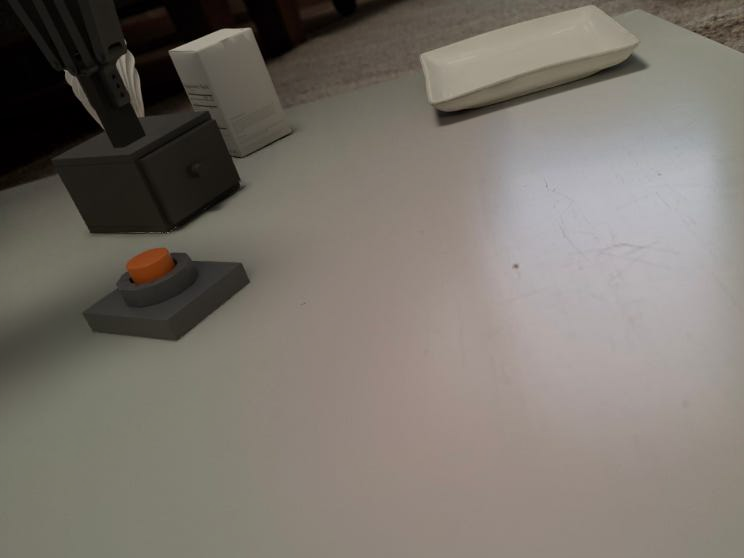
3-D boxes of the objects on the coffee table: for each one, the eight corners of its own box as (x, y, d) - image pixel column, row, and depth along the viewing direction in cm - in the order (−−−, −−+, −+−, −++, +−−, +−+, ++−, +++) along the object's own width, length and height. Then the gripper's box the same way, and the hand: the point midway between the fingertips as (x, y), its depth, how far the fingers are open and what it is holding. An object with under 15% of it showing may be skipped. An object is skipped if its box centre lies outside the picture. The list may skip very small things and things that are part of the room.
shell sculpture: (106, 175, 127) (44, 55, 117) (133, 154, 133) (77, 39, 124) (153, 166, 125) (94, 43, 115) (178, 145, 131) (124, 27, 122)
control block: (250, 282, 80) (234, 245, 78) (177, 341, 74) (156, 302, 72) (167, 277, 87) (150, 243, 85) (92, 332, 80) (71, 296, 78)
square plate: (424, 76, 129) (417, 51, 127) (597, 27, 128) (593, 0, 126) (435, 128, 106) (427, 98, 104) (646, 68, 105) (642, 36, 103)
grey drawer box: (240, 185, 107) (208, 110, 101) (168, 233, 98) (129, 154, 93) (163, 187, 114) (129, 118, 109) (90, 232, 106) (50, 159, 100)
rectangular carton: (262, 128, 127) (221, 27, 119) (293, 132, 121) (253, 26, 113) (211, 153, 123) (165, 50, 115) (241, 158, 116) (195, 49, 108)
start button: (184, 264, 79) (176, 247, 78) (153, 286, 76) (144, 269, 75) (156, 262, 81) (148, 246, 80) (125, 284, 78) (116, 268, 77)
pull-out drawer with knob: (248, 180, 104) (222, 118, 100) (182, 224, 97) (151, 159, 92) (168, 182, 112) (141, 125, 108) (102, 223, 104) (70, 164, 100)
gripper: (78, -180, 64) (207, 120, 76) (-20, -141, 70) (114, 130, 83) (-6, -164, 59) (148, 155, 71) (-102, -124, 65) (54, 162, 78)
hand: (130, 141), depth 77 cm, fingers closed
